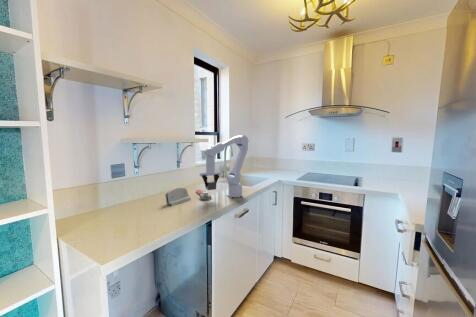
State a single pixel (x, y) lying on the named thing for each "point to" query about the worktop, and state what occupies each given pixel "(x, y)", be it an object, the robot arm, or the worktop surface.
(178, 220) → the worktop surface
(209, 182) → the brushed grey cube
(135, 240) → the worktop surface
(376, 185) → the worktop surface
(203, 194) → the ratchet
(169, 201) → the white electronic device
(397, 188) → the worktop surface
